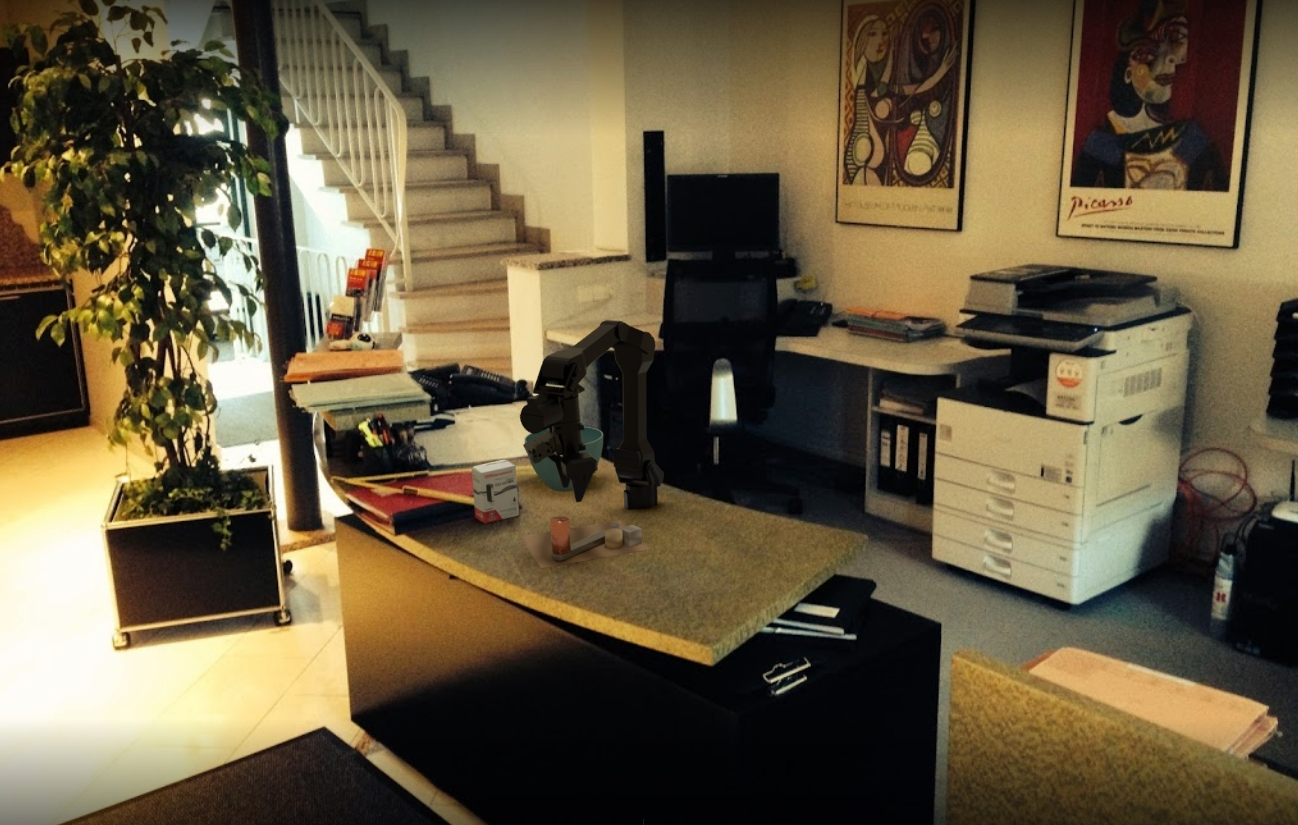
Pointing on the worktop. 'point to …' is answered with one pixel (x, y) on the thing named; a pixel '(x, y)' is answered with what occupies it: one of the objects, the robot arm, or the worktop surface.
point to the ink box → (495, 491)
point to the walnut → (613, 538)
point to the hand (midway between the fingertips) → (572, 494)
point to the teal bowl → (593, 447)
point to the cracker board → (543, 546)
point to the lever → (562, 539)
